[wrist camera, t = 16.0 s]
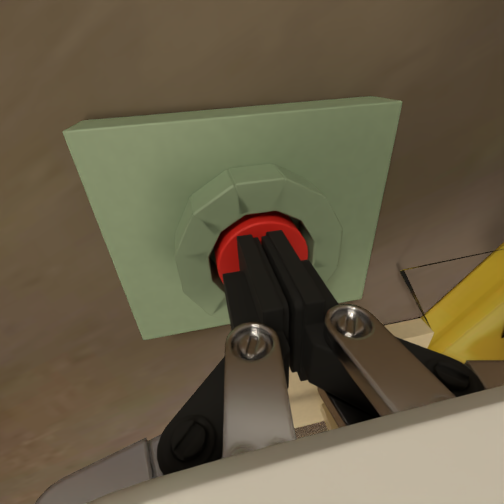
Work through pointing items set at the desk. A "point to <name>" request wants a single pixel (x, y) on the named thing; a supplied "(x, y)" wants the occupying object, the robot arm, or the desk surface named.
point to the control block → (232, 195)
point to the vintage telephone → (470, 313)
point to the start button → (257, 227)
